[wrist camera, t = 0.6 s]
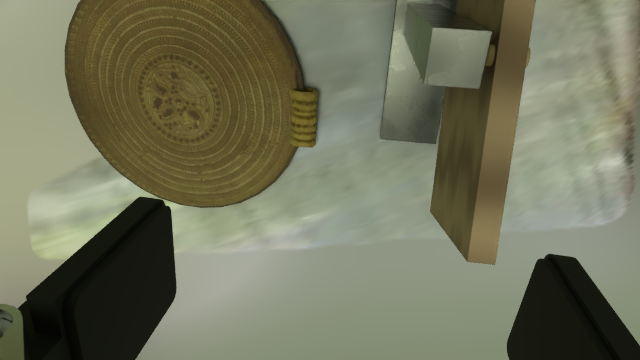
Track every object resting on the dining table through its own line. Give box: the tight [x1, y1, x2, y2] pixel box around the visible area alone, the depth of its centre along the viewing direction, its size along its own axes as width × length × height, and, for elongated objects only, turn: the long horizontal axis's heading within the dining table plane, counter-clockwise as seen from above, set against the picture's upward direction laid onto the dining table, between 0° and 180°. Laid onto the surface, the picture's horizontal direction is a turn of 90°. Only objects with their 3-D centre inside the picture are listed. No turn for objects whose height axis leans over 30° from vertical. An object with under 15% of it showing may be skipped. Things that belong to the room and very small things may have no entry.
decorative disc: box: [65, 0, 319, 208], centre depth 48 cm, size 29×3×30 cm
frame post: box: [380, 0, 492, 144], centre depth 33 cm, size 25×6×22 cm, turn 177°
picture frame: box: [430, 0, 536, 265], centre depth 30 cm, size 24×2×14 cm, turn 177°
